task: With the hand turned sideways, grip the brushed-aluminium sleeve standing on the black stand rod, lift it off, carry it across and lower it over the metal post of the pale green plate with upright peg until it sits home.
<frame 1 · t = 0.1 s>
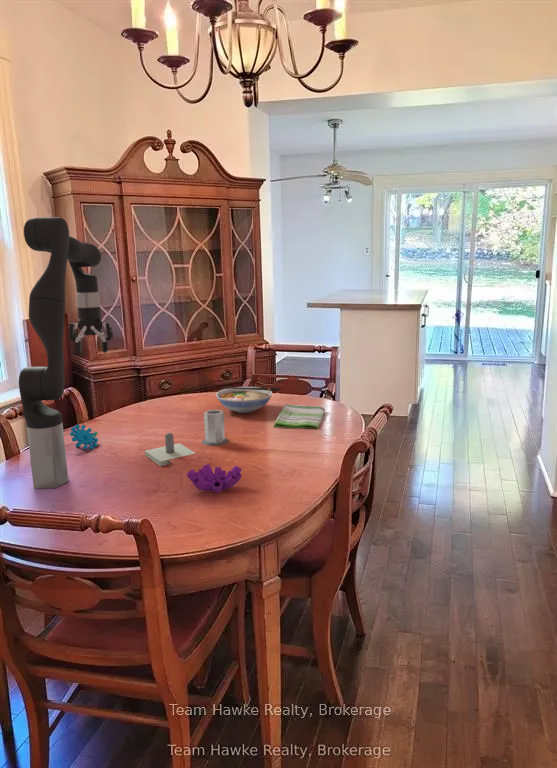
hand: (92, 352, 202), 29 cm above the table, fingers open, 8 cm apart
dish towel: (300, 421, 221), on the table
plate with upright peg: (170, 456, 183), on the table
pipe connector assembly: (214, 491, 157), on the table
sleeve: (215, 441, 193), point 1 cm above the table, touching stand
ramen bowl: (244, 411, 234), on the table
stand: (215, 445, 193), on the table
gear: (86, 447, 194), on the table
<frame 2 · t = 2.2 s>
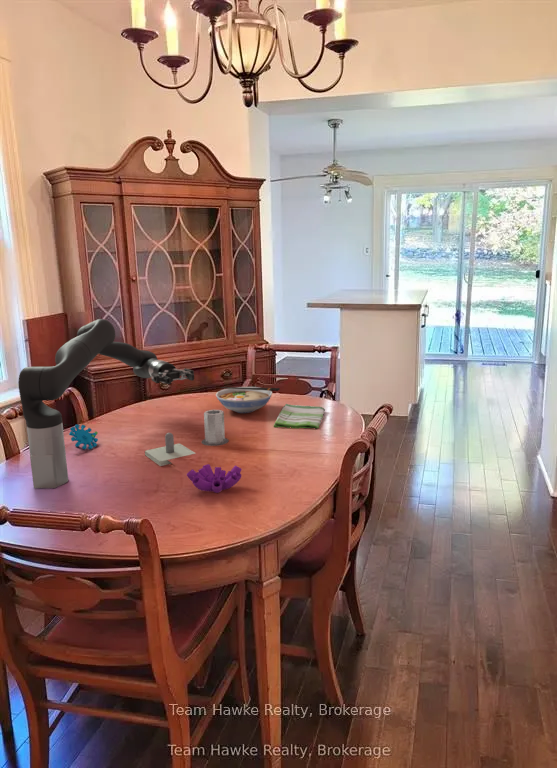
hand: (181, 379, 199), 20 cm above the table, fingers open, 8 cm apart
nothing on the table moved.
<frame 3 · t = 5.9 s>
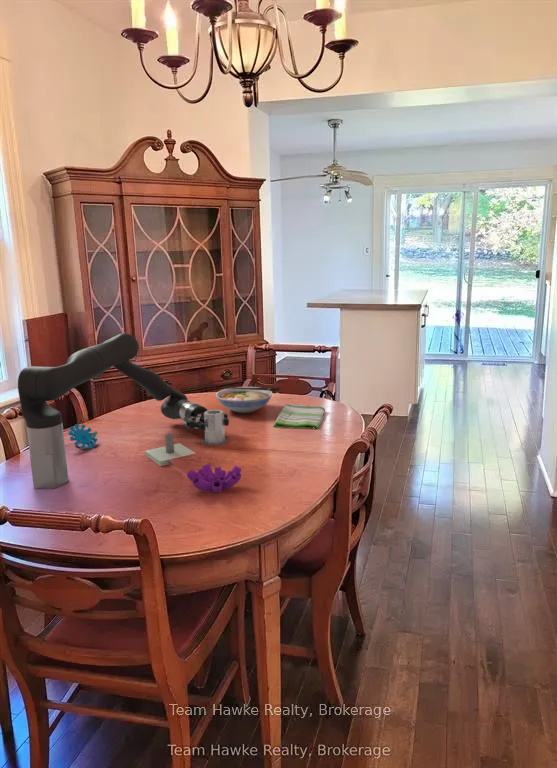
hand: (216, 425, 190), 7 cm above the table, fingers open, 8 cm apart
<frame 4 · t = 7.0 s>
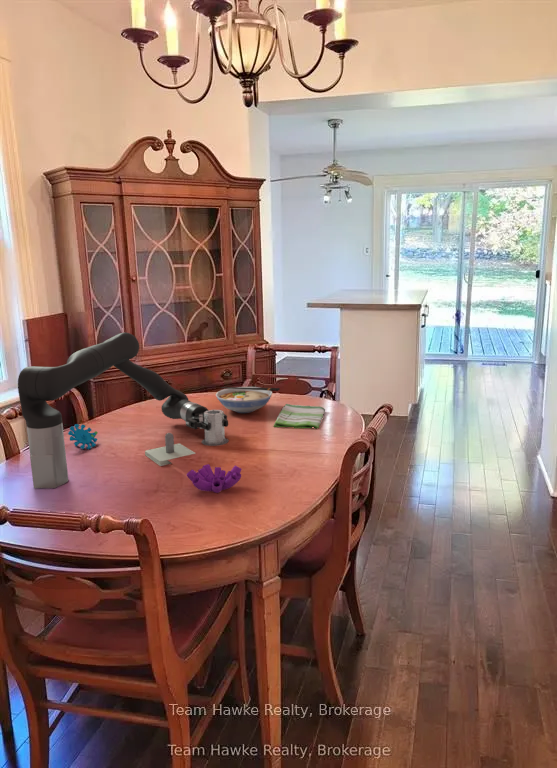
hand: (217, 425, 189), 8 cm above the table, fingers closed on sleeve, 6 cm apart
sleeve: (215, 441, 193), point 2 cm above the table, touching gripper, stand
everything else where it was.
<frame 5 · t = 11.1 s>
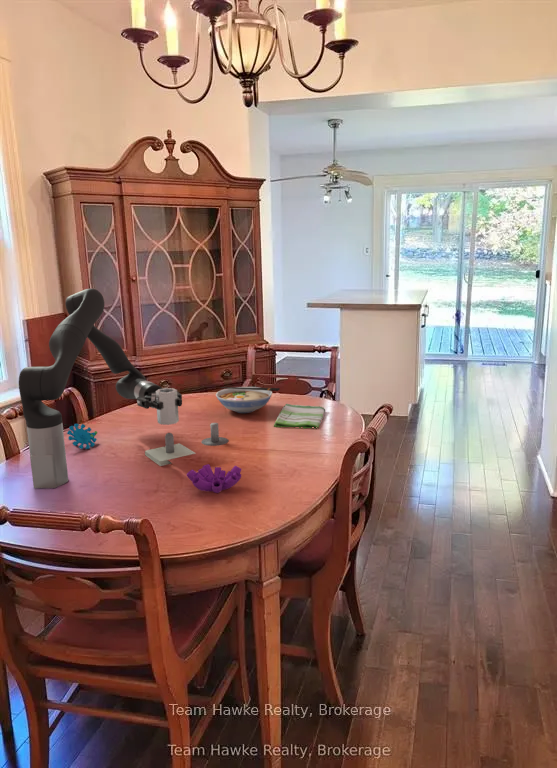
hand: (170, 404, 178), 17 cm above the table, fingers closed on sleeve, 6 cm apart
sleeve: (168, 421, 181), point 11 cm above the table, touching gripper
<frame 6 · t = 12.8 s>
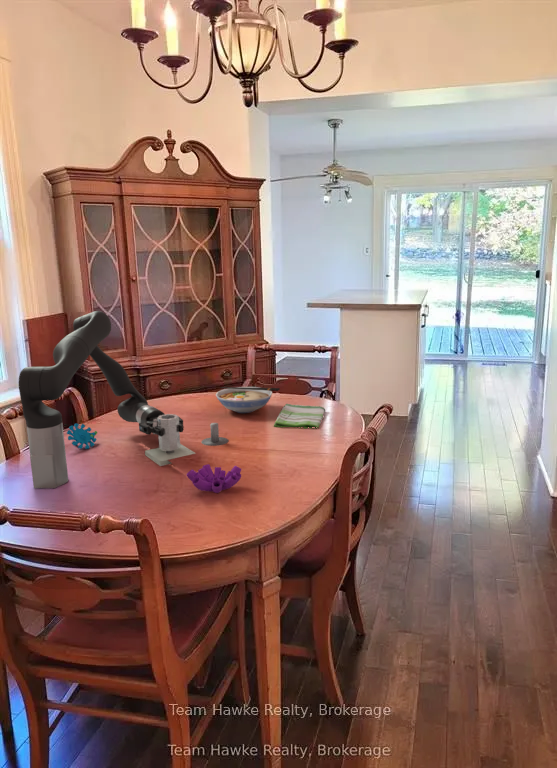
hand: (172, 431, 180), 9 cm above the table, fingers closed on sleeve, 6 cm apart
sleeve: (169, 447, 183), point 3 cm above the table, touching gripper
when the fingers open (9 cm above the table, at t = 13.7 s): sleeve drops 1 cm, resting on plate with upright peg.
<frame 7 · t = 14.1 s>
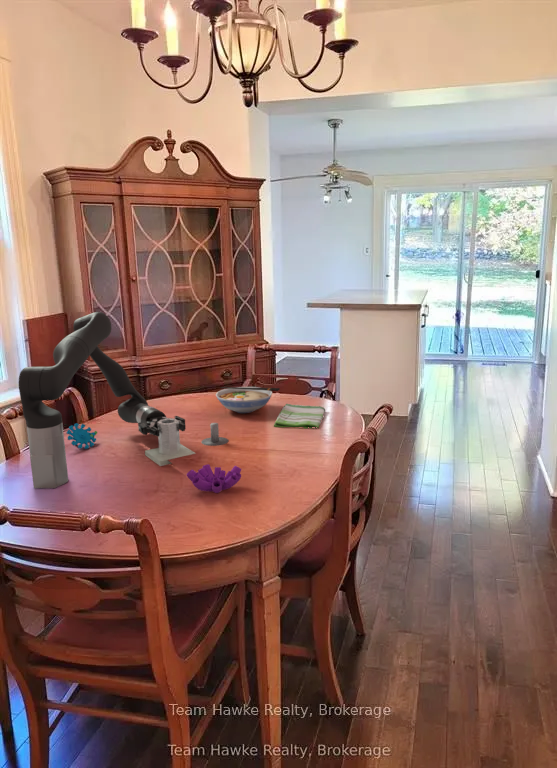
hand: (171, 430, 180), 9 cm above the table, fingers open, 8 cm apart
sleeve: (169, 451, 183), point 1 cm above the table, touching plate with upright peg
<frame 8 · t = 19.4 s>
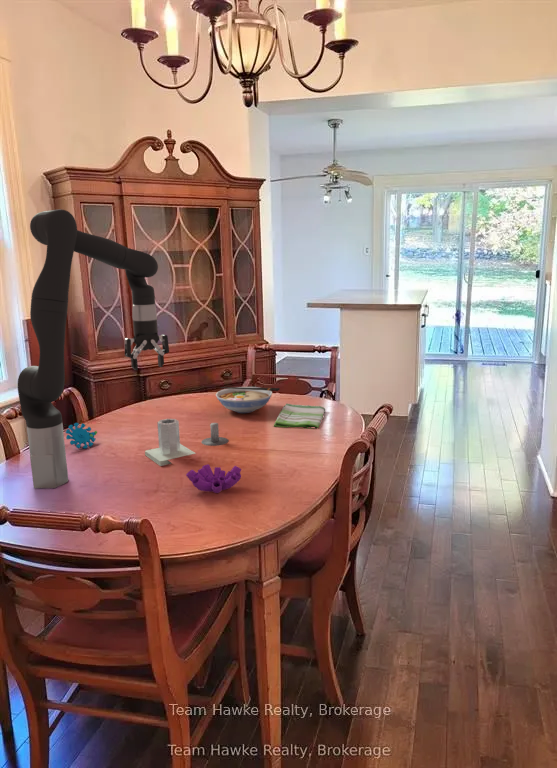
hand: (148, 368, 189), 26 cm above the table, fingers open, 8 cm apart
at the end: sleeve 0.1 cm from the plate with upright peg (horizontally); sleeve point 1.5 cm above the table; sleeve tilted 0° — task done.
